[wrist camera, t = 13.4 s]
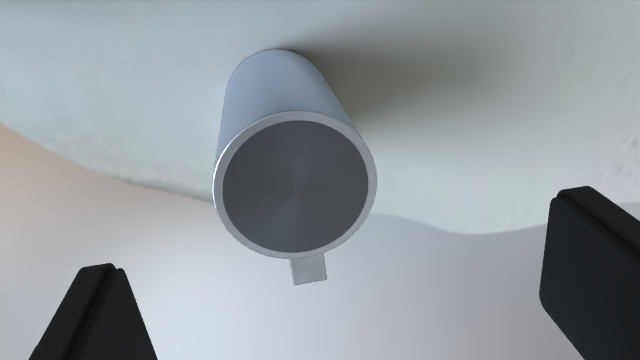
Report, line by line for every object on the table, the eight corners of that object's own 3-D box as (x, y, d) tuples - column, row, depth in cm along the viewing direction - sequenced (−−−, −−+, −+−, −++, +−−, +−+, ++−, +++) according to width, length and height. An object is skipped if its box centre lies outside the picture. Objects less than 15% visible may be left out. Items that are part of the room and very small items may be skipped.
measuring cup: (214, 57, 22) (194, 126, 13) (322, 41, 23) (372, 99, 14) (240, 178, 25) (237, 302, 16) (335, 163, 26) (384, 275, 17)
